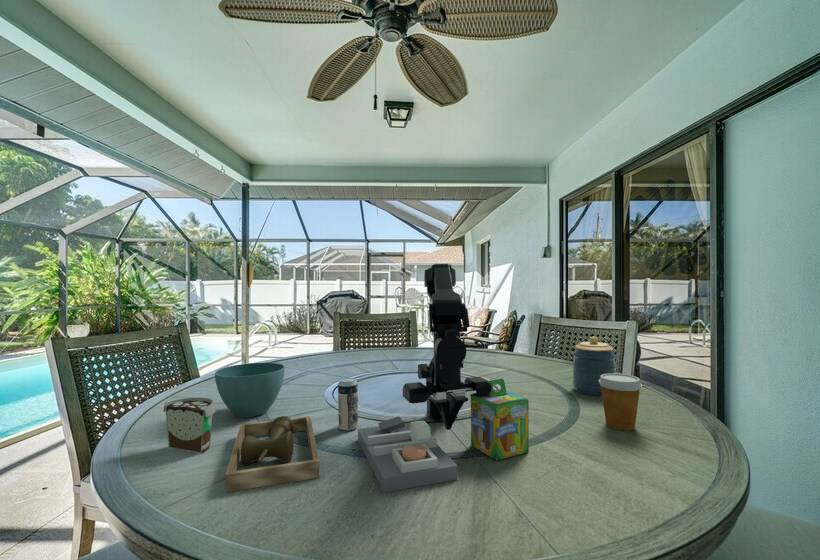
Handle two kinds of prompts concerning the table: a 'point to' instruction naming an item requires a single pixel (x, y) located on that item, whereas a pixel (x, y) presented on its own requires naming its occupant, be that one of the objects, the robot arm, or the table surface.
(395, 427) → the rocker switch
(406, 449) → the push button
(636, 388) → the disposable coffee cup
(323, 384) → the table surface
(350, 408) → the beer can
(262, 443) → the kendama
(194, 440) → the food container
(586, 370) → the canister
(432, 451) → the panel
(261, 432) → the tray
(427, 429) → the slider knob
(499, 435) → the chalk box
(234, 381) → the teal bowl
